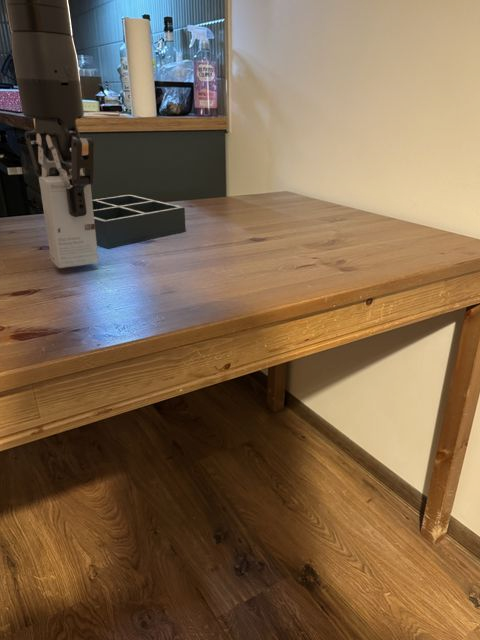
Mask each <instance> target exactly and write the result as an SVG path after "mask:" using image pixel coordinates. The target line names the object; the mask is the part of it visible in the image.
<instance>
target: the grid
mask: <svg viewBox="0 0 480 640" xmlns="http://www.w3.org/2000/svg"><path fill="white" fill-rule="evenodd" d="M92 204H93V213H94V223H95V232H96V242H97V246H99V247H102V248H105V249H112V248H116V247H117V246H118V247H121V245H122V246H125V245H126V244H127V245H131V244H134V243H139V242H144V241H148V240H153V239H157V238H162V237H167V236H171V235H176V234H180V233H184V232H186V231H187V230H186V229H187V228H186V210H185V206H181V205H176V204H171V203H168V202H164V201H160V200H156V199H155V200H154V199H151V198H147V197H143V196H139V195H134V194H124V195H118V196H110V197H105V198H104V197H103V198H96V199H92ZM127 245H126V246H127Z"/></svg>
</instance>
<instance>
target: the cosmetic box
mask: <svg viewBox="0 0 480 640" xmlns="http://www.w3.org/2000/svg"><path fill="white" fill-rule="evenodd" d="M71 178H72V175H71ZM38 182H39V188H40V195H41V203H42V204H41V205H42V209H43V217H44V222H45V230H46V236H47V242H48V248H49V255H50V261H51V262H52V263H53V264H54V265H55V266H56V268H58V269H63V268H70V267H78V266H79V267H80V266H87V265H93V264H97V263H99V251H98V245H97V242H96V232H95V223H94V213H93V204H92V200H93V196H92V195H93V194H92V187H91V185H92V184H90V185H86V187H84V196H85V204H86V211H87V213H86V215H84V216H79V217H73V216H71V215H70V213H69V206H68V199H67V192H66V189H68V188H67V187H66V184H65V181H64V178H63V175H62V176H47V177H42V176H38Z"/></svg>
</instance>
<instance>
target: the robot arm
mask: <svg viewBox="0 0 480 640" xmlns="http://www.w3.org/2000/svg"><path fill="white" fill-rule="evenodd" d="M5 6H6V11H7V19H8V24H9V29H10V36H11V52H12V60H13V66H14V71H15V77H16V83H17V88H18V95H19V100H20V108H21V112H22V115H23V116H24V117H25V118H29V119H34V130H31V131H30V130H29V131H28V130H27V131H25V132H24V138H25V142H26V144H27V149H28V153H29V155H30V159H31V163H32V167H33V169H34V173H35V175H36V177H47V176H63V178H64V181H65V184H66V187H67V188H68V189H66V192H67V199H68V206H69V213H70V215H71V216H73V217H79V216H84V215H86V213H87V211H86V204H85V196H84V187H86V185H90V184H91V185H93V184H94V159H95V158H94V150H95V146H94V145H95V144H94V140H93V138H90V137H89V138H88V137H87V138H85V137H83V136H81V135H80V132H79V128H78V126H77V121H76V120H77V119H82V118H83V117H84V115H85V112H84V104H83V95H82V94H83V93H82V85H81V78H80V77H81V76H80V70H79V69H80V68H79V62H78V55H77V50H76V47H75V43H74V37H73V29H72V21H71V13H70V6H69V0H5ZM71 176H72V178H71Z"/></svg>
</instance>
